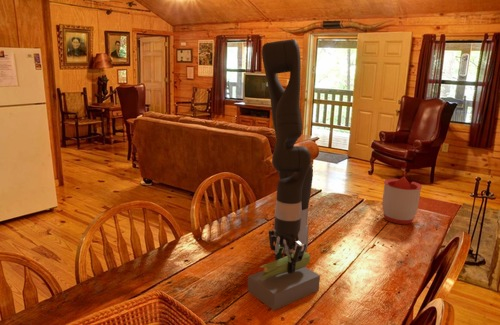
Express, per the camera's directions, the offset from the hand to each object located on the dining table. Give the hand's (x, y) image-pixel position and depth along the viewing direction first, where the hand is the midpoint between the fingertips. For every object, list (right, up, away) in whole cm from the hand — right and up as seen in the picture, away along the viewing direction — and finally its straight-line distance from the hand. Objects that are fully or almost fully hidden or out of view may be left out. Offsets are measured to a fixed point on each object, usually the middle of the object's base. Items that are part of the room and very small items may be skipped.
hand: (284, 268), depth 120 cm
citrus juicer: (+57, +6, +62) cm, 84 cm away
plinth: (0, -7, +2) cm, 7 cm away
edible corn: (-1, -1, 0) cm, 1 cm away
